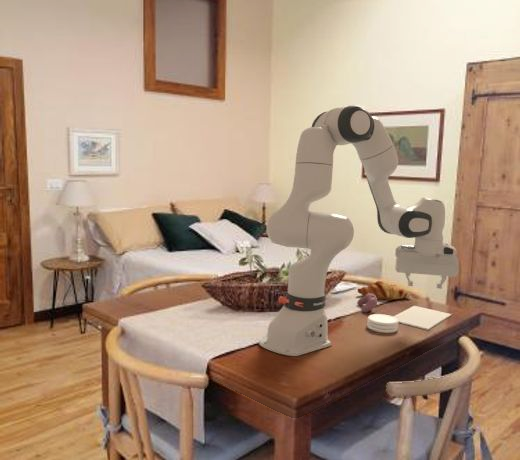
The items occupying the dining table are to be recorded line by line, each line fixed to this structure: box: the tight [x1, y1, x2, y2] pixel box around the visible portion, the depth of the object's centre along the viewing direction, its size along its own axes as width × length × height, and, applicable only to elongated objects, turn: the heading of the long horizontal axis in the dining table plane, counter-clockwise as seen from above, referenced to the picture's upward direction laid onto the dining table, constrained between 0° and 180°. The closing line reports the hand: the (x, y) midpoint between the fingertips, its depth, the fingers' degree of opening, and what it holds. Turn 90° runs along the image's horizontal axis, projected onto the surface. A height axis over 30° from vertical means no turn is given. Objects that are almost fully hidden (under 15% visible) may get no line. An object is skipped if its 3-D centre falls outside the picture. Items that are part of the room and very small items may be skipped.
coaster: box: [366, 313, 399, 334], centre depth 170 cm, size 10×10×4 cm
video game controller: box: [356, 293, 378, 313], centre depth 190 cm, size 10×5×7 cm, turn 179°
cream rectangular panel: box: [393, 305, 452, 331], centre depth 182 cm, size 22×14×1 cm, turn 141°
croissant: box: [357, 280, 411, 301], centre depth 206 cm, size 21×10×8 cm, turn 88°
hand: (424, 287), depth 173 cm, fingers open, 8 cm apart
